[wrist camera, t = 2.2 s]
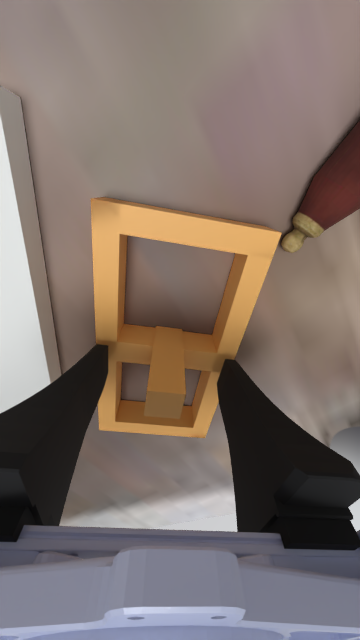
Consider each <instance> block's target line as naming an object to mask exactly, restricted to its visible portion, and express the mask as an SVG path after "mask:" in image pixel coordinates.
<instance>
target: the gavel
mask: <svg viewBox="0 0 360 640" xmlns="http://www.w3.org/2000/svg"><path fill="white" fill-rule="evenodd" d="M358 209H360V121H359V122H358V123H357V124H356V125H355V127H354V128H353V129H352V130H351V132H350V133H349V134H348V135H347V137H346V138H345V139H344V140H343V142H342V143H341V144H340V145H339V147H338V148H337V149H336V150H335V151H334V153H333V154H332V155H331V156H330V158H329V159H328V160H327V161H326V163H325V164H324V165H323V166H322V168H321V169H320V170H319V171H318V173H317V174H316V175H315V176H314V178H313V180H312V182H311V185H310V187H309V189H308V191H307V193H306V196H305V198H304V200H303V202H302V204H301V207H300V209H299V211H298V213H297V214H296V215H295V216H294V218H293V225H294V227H295V228H294V230H293V231H292V232H290V233H288V234H287V235H286V236H285V237H284V238H283V240H282V243H281V245H282V247H283V249H284V250H285V251H287V252H291V253H293V252H296V251H297V250H299V249H300V248H301V247H302V245H303V242H304V240H305V239H306V238H307V237H311V238H315V237H318V236H320V235H321V233H322V232H323V231H324V230H326V229H328V228H329V227H331V226H332V225H334V224H336V223H337V222H339V221H340V220H342V219H344V218H345V217H347V216H348V215H350V214H352V213H353V212H355V211H356V210H358Z"/></svg>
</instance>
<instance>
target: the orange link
mask: <svg viewBox="0 0 360 640" xmlns="http://www.w3.org/2000/svg"><path fill="white" fill-rule="evenodd" d="M91 220H92V247H93V275H94V303H95V331H96V345H97V344H101V345H108V375H107V379H106V383H105V386H104V389H103V392H102V394H101V396H100V399H99V401H98V415H99V430H105V431H118V432H131V433H144V434H158V435H171V436H184V437H197V438H205V436H206V434H207V431H208V428H209V426H210V423H211V420H212V418H213V415H214V412H215V410H216V407H217V404H218V402H219V400H218V392H217V381H218V378H219V375H220V372H221V369H222V367H223V364H224V361H225V359H232V360H234V359H235V356H236V354H237V351H238V348H239V346H240V343H241V340H242V338H243V335H244V332H245V330H246V327H247V324H248V322H249V319H250V316H251V314H252V311H253V308H254V306H255V303H256V300H257V298H258V295H259V292H260V290H261V287H262V284H263V282H264V279H265V276H266V274H267V271H268V268H269V266H270V263H271V260H272V258H273V255H274V252H275V250H276V247H277V244H278V242H279V239H280V236H281V234H282V233H281V232H279V231H276V230H273V229H271V228H268V227H266V226H260V225H255V224H249V223H244V222H238V221H233V220H227V219H222V218H216V217H211V216H205V215H200V214H194V213H189V212H183V211H178V210H172V209H167V208H161V207H156V206H150V205H145V204H139V203H134V202H128V201H123V200H117V199H112V198H106V197H101V198H91ZM127 235H130V236H136V237H142V238H148V239H154V240H160V241H166V242H172V243H178V244H184V245H190V246H196V247H202V248H208V249H214V250H220V251H226V252H232V253H235V257H234V260H233V264H232V267H231V271H230V274H229V278H228V281H227V285H226V288H225V291H224V295H223V298H222V302H221V305H220V309H219V312H218V316H217V319H216V323H215V326H214V330H213V333H212V335H210V334H202V333H194V332H186V331H182V329H177V328H169V327H161V326H156V327H155V328H154V327H146V326H138V325H130V324H124V305H125V281H126V256H127ZM122 362H128V363H137V364H146V365H150V371H149V378H148V386H147V393H146V401H145V402H139V401H128V400H121V378H122ZM185 369H193V370H202V372H201V375H200V378H199V382H198V385H197V389H196V392H195V396H194V399H193V403H192V406H183V404H184V400H185V397H186V385H185Z"/></svg>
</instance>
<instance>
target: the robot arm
mask: <svg viewBox="0 0 360 640" xmlns="http://www.w3.org/2000/svg"><path fill="white" fill-rule="evenodd" d="M107 375H108V345H101V344H97V345H95V346H94V347H93V348H92V349H91V350H90V351H89V352H88V353H87V354H86V355H85V356H84V357H83V358H82V359H80V360H79V361H78V362H77V363H76V364H75V365H74V366H72V367H71V368H70V369H69V370H68V371H66V372H65V373H64V374H63V375H61V376H60V377H59V378H58V379H56V380H55V381H54V382H52V383H51V384H49V385H48V386H46V387H45V388H43V389H42V390H41V391H39V392H37V393H36V394H34V395H33V396H31V397H29V398H28V399H26V400H24V401H22V402H21V403H19V404H17V405H15V406H14V407H12V408H10V409H8V410H6V411H4V412H2V413H0V640H360V530H359V531H357V532H356V531H355V529H354V527H353V525H352V523H351V521H350V520H352V519H353V515H352V513H351V512H350V510H349V508H348V507H349V506H350V505H351V504H353V503H354V502H355V501H357V500H358V499H359V498H360V475H359V473H358V472H357V470H356V469H355V468H354V466H353V464H352V463H351V462H350V461H349V460H347V459H346V458H344V457H343V456H341V455H339V454H338V453H336V452H335V451H333V450H332V449H330V448H328V447H327V446H325V445H324V444H323V443H321V442H320V441H318V440H317V439H315V438H314V437H313V436H311V435H310V434H309V433H307V432H306V431H305V430H303V429H302V428H301V427H300V426H298V425H297V424H296V423H295V422H293V421H292V420H291V419H290V418H289V417H287V416H286V415H285V414H284V413H283V412H282V411H281V410H280V409H279V408H277V407H276V406H275V405H274V404H273V403H272V402H271V401H270V400H269V399H268V398H267V397H266V395H265V394H264V393H263V392H262V391H261V390H260V389H259V388H258V387H257V386H256V384H255V383H254V382H253V381H252V380H251V379H250V377H249V376H248V375H247V374H246V372H245V371H244V370H243V369H242V368H241V366H240V365H239V364H238V363H237V362H236V360H232V359H225V361H224V364H223V367H222V369H221V372H220V375H219V378H218V381H217V392H218V400H219V404H220V409H221V413H222V417H223V421H224V425H225V430H226V434H227V438H228V443H229V450H230V457H231V465H232V474H233V482H234V493H235V503H236V516H237V529H238V532H224V531H193V530H162V529H131V528H100V527H68V526H59V523H60V519H61V516H62V512H63V508H64V504H65V501H66V497H67V493H68V490H69V486H70V483H71V479H72V476H73V472H74V469H75V466H76V462H77V459H78V456H79V452H80V449H81V446H82V443H83V439H84V436H85V433H86V430H87V428H88V425H89V423H90V420H91V418H92V416H93V413H94V411H95V408H96V406H97V404H98V401H99V399H100V396H101V394H102V392H103V389H104V386H105V383H106V379H107Z"/></svg>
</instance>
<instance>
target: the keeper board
mask: <svg viewBox="0 0 360 640" xmlns="http://www.w3.org/2000/svg"><path fill="white" fill-rule="evenodd" d="M60 376H61V370H60V363H59V356H58V349H57V343H56V336H55V329H54V322H53V315H52V309H51V302H50V295H49V288H48V282H47V275H46V268H45V261H44V254H43V248H42V241H41V234H40V227H39V221H38V214H37V207H36V200H35V194H34V187H33V180H32V173H31V166H30V160H29V153H28V146H27V139H26V133H25V126H24V119H23V112H22V105H21V99H20V97H19V96H17V95H16V94H14V93H12V92H11V91H9V90H7V89H6V88H4V87H2V86H1V85H0V413H2V412H4V411H6V410H8V409H10V408H12V407H14V406H15V405H17V404H19V403H21V402H22V401H24V400H26V399H28V398H29V397H31V396H33V395H34V394H36V393H37V392H39V391H41V390H42V389H43V388H45V387H46V386H48V385H49V384H51V383H52V382H54V381H55V380H56V379H58V378H59V377H60Z"/></svg>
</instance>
